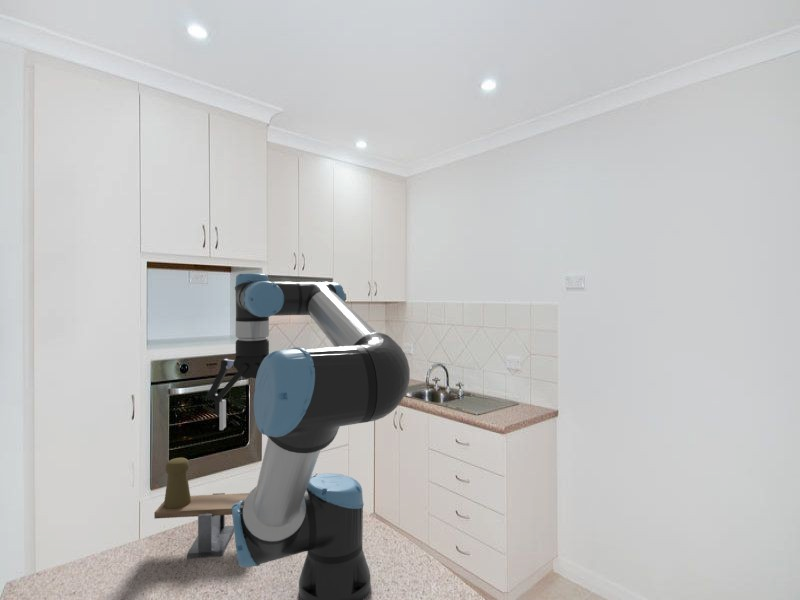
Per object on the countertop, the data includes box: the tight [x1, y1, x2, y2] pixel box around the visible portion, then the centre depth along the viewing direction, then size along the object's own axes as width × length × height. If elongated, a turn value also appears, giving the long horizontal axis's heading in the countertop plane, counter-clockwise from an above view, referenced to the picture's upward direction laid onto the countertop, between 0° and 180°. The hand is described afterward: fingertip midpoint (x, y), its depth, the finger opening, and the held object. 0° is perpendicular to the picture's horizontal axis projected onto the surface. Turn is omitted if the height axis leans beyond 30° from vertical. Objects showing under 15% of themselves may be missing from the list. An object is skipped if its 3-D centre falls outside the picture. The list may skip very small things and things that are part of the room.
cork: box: [163, 457, 191, 509], centre depth 110 cm, size 6×6×11 cm
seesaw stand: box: [186, 492, 234, 559], centre depth 111 cm, size 12×8×10 cm
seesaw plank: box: [153, 492, 250, 520], centre depth 111 cm, size 9×24×2 cm, turn 97°
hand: (252, 427), depth 106 cm, fingers open, 13 cm apart
